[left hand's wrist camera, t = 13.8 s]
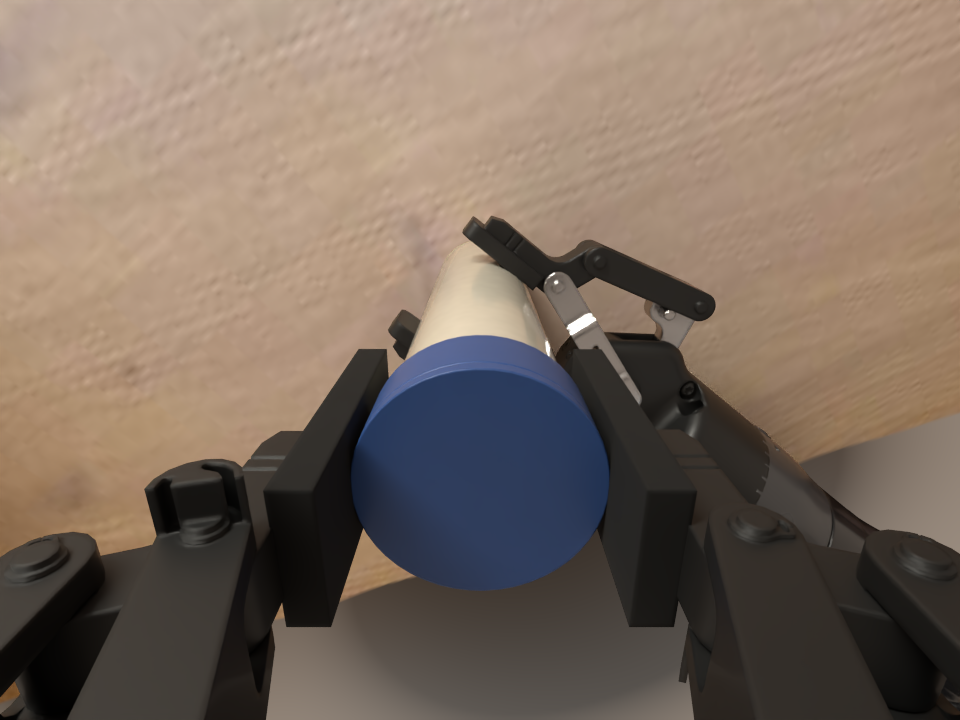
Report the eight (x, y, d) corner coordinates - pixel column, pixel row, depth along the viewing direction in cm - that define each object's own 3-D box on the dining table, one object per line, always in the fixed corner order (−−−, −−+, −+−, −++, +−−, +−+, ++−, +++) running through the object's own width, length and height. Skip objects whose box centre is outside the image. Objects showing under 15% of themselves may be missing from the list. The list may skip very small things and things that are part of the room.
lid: (451, 288, 11) (446, 313, 9) (635, 415, 12) (665, 463, 10) (330, 460, 12) (302, 514, 10) (503, 560, 13) (507, 627, 11)
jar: (532, 304, 29) (617, 522, 11) (457, 332, 30) (423, 583, 12) (504, 227, 28) (550, 333, 10) (426, 258, 28) (331, 414, 10)
